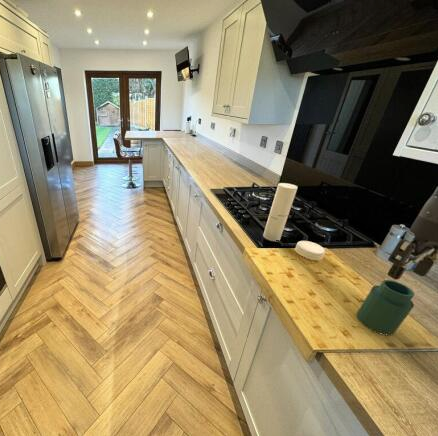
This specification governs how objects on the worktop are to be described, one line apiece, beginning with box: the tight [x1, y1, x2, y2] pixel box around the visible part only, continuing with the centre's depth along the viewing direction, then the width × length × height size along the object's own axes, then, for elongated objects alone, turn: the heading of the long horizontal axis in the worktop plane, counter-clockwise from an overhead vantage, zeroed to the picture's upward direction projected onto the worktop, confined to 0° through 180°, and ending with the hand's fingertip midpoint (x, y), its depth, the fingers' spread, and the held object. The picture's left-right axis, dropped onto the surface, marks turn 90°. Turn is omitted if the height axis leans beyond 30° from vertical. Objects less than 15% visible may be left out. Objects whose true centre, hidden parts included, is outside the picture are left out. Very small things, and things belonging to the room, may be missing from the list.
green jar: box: [356, 279, 415, 336], centre depth 64 cm, size 8×8×13 cm
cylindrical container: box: [262, 182, 298, 242], centre depth 103 cm, size 7×7×25 cm
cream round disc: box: [294, 240, 326, 261], centre depth 97 cm, size 10×10×4 cm
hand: (405, 275), depth 59 cm, fingers open, 8 cm apart
